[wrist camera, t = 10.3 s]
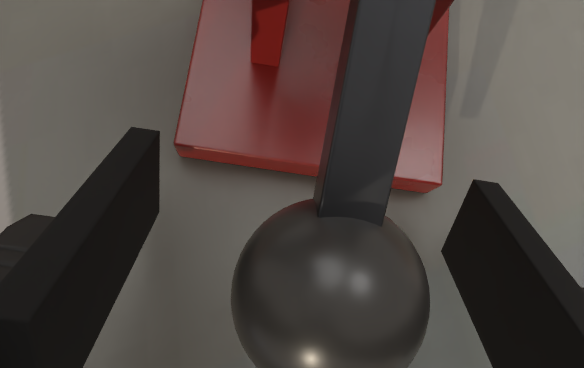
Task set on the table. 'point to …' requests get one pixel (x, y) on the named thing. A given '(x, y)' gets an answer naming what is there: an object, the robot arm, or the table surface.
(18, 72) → the table surface
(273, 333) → the lever
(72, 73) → the table surface
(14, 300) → the robot arm
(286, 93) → the bracket
